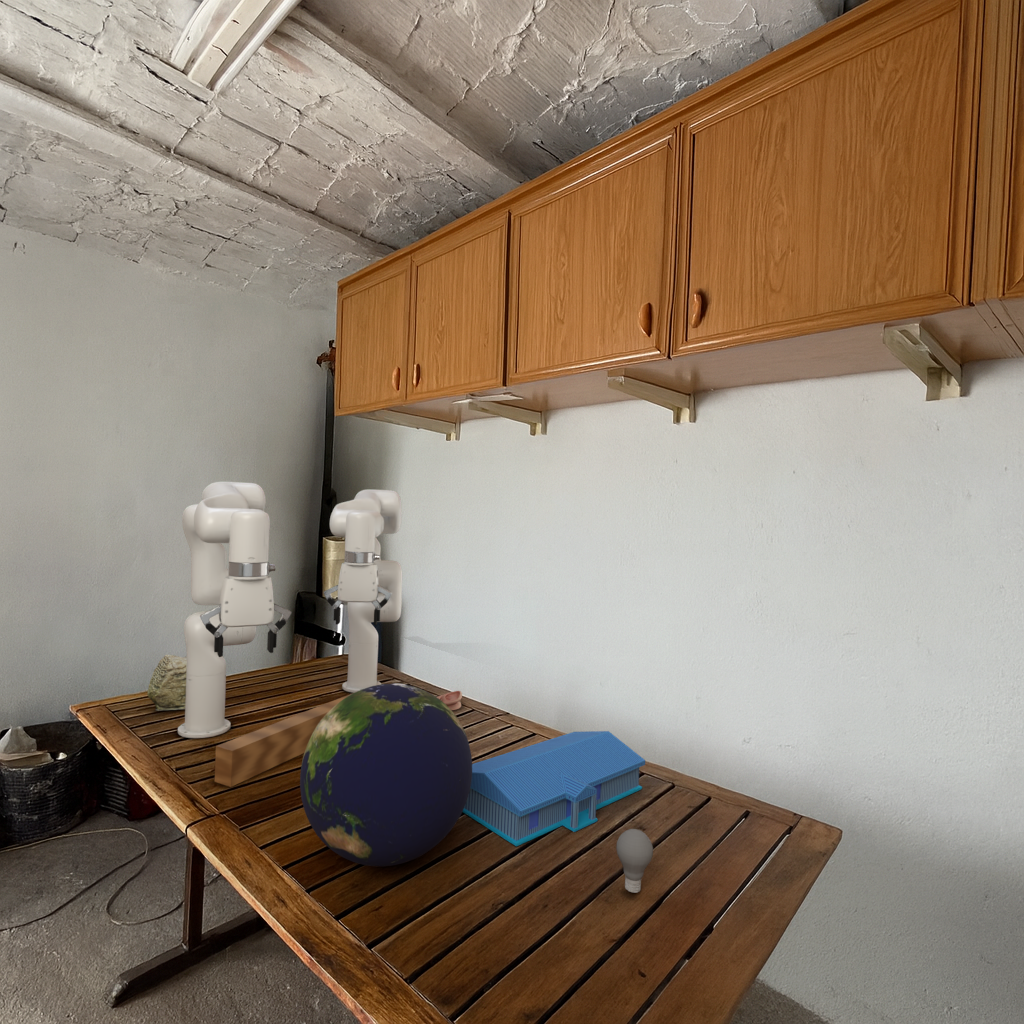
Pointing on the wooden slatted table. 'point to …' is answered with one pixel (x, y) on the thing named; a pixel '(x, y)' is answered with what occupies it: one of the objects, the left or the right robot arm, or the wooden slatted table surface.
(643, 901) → the wooden slatted table surface
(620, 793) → the model building
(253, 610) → the left robot arm
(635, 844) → the light bulb
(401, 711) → the globe
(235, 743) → the post
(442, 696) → the anatomical model
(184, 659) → the fossil
